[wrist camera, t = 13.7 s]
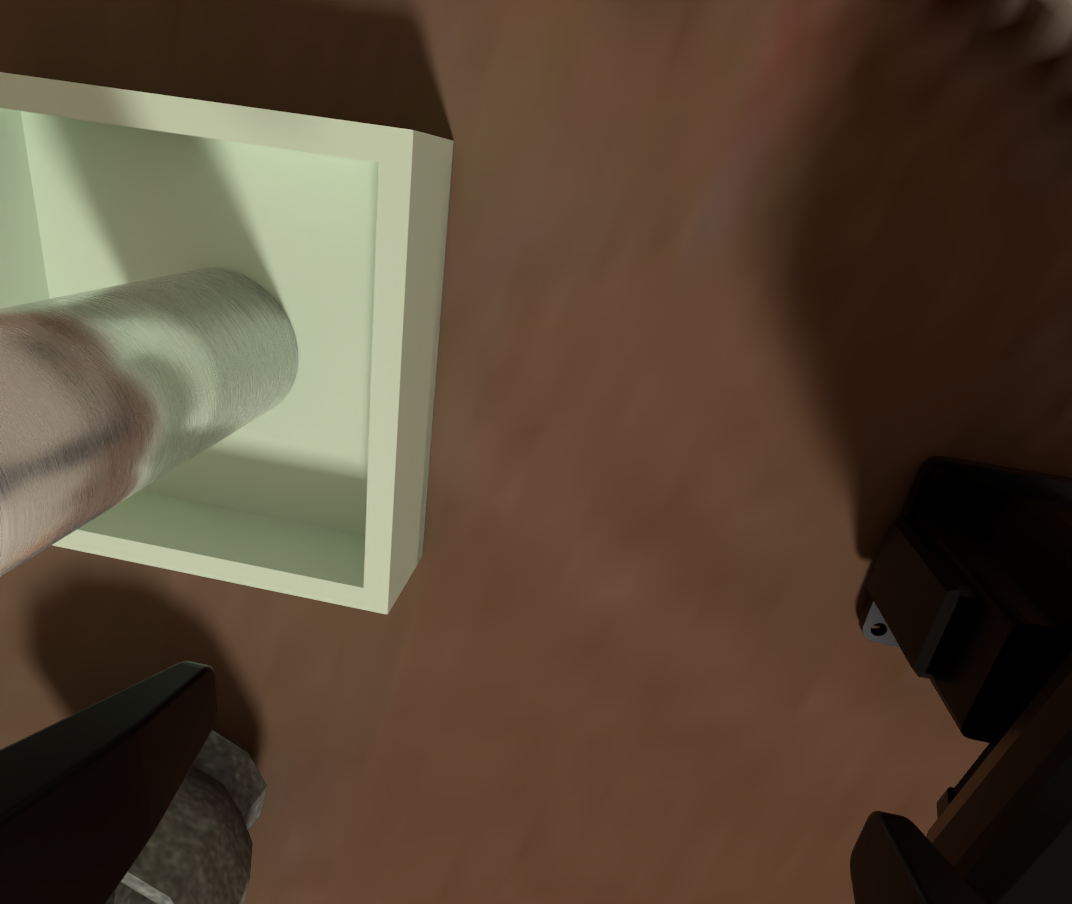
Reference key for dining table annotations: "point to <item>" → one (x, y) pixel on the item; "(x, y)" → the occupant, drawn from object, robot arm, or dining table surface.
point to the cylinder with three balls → (127, 392)
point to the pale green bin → (291, 279)
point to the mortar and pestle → (201, 834)
